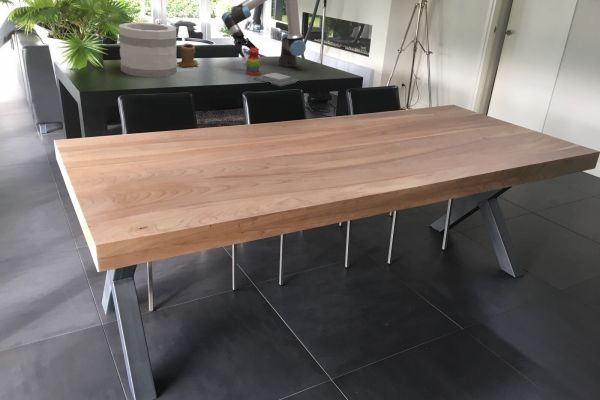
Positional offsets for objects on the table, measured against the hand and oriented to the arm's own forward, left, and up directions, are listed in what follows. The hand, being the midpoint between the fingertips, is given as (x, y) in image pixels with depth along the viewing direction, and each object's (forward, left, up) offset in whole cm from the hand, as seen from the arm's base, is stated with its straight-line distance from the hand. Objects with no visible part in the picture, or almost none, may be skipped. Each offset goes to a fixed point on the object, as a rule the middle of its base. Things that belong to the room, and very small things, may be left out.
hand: (252, 59), depth 343 cm
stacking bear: (-1, 0, -10) cm, 10 cm away
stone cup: (+20, -40, -10) cm, 46 cm away
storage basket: (+53, -43, -10) cm, 69 cm away
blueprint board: (+1, +22, -10) cm, 24 cm away
